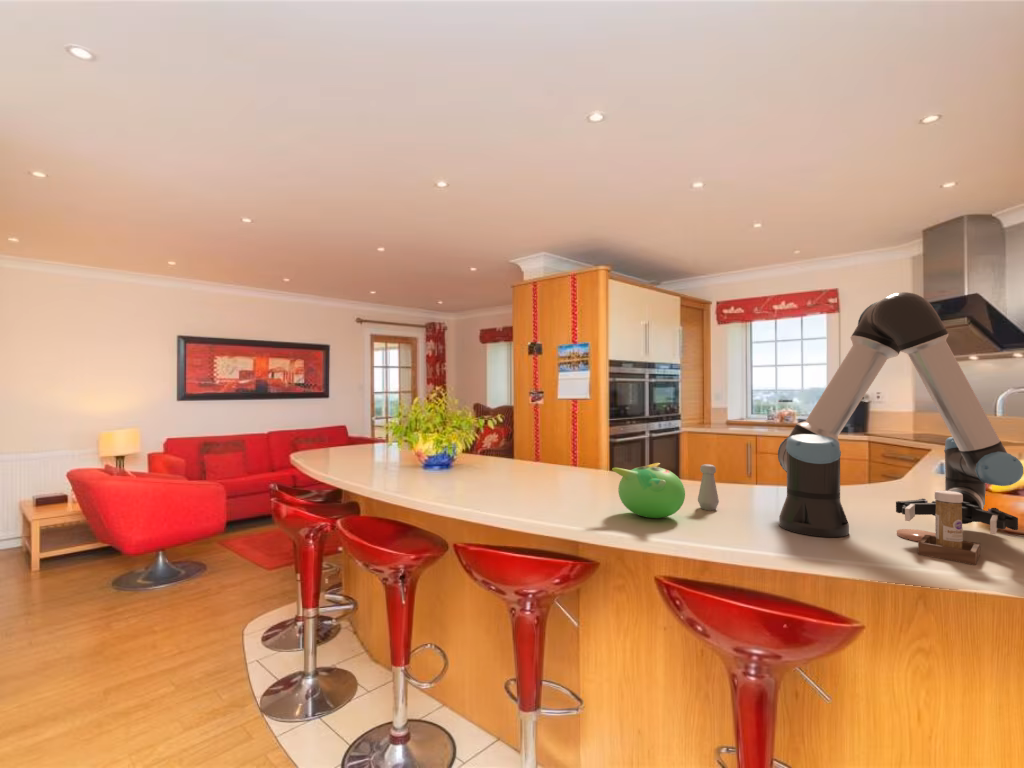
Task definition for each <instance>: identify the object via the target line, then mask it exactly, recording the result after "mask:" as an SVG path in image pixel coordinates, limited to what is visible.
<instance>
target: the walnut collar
mask: <svg viewBox="0 0 1024 768" xmlns="http://www.w3.org/2000/svg"><path fill="white" fill-rule="evenodd" d="M917 544H918V545H917V546H918V547H917V548H918V549H917V550H918V551H917V553H918V555H919V556H920V555H921V556H926V557H932V558H935V559H940V560H946V561H950V562H957V563H962V564H963V563H964V564H967V565H968V564H969V565H973V566H976V564H977V563H978V561H979V558H980V556H981V543H980V542H979V543H978V542H973V541H967V540H963V541H962V549H957V548H951V547H946V546H940V545H936V536H931V535H925V536H924V537H923V538H922V539H921V540H920V541H919V542H918V541H917Z"/></svg>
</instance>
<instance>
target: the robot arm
mask: <svg viewBox="0 0 1024 768" xmlns="http://www.w3.org/2000/svg"><path fill="white" fill-rule="evenodd" d="M949 336H950V334H949V332H948V330H947V328H946V327H945V325H944V323H943V321H942V320H941V317H940V315H939V314H938V312H937V311H936V310H935V308H934V307H933V305H932V304H931V303H930V301H928V300H927V299H925V298H924V297H923V296H921V295H919V294H916V293H913V292H905V291H904V292H895V293H893V294H890V295H888V296H885V297H884V298H882V299H880V300H878V301H876V302H874V303H872V304H870V305H869V306H867V307H866V308H865V309H864V310H863V311H862V313H861V314H860V315H859V318H858V322H857V326H856V328H855V329H854V331H853V332H852V334H851V336H850V340H851V342H852V346H851V347H850V350H849V351H848V353H847V354H846V356H845V357H844V359H843V360H842V362H841V363H840V365H839V367H838V368H837V370H836V371H835V373H834V375H833V376H832V378H831V379H830V381H829V382H828V384H827V386H826V388H825V389H824V391H823V392H822V394H821V396H820V397H819V399H818V400H817V402H816V404H815V405H814V406H813V409H812V410H811V412H810V413H809V415H808V416H807V418H806V420H804V421H801V422H798V423H796V424H795V426H794V427H793V429H792V431H791V432H790V434H789V436H788V437H786V438H785V439H784V440H783V441H781V443H780V444H779V446H778V450H777V458H778V462H779V465H780V467H781V468H782V470H784V471H785V472H786V497H785V500H784V503H783V506H782V509H781V511H780V514H779V517H778V518H779V520H778V523H779V527H780V528H782V529H784V530H787V531H789V532H793V533H797V534H801V535H807V536H813V537H825V538H841V537H846V536H848V535H849V534H850V524H849V522H848V518H847V515H846V513H845V511H844V508H843V505H842V502H841V456H842V451H841V443H840V440H839V435H840V434H841V433H842V431H843V430H844V428H845V427H846V424H847V423H848V421H850V418H851V416H852V415H853V414H854V412H855V411H856V409H857V407H858V406H859V404H860V403H861V401H862V400H863V398H864V396H865V395H866V394H867V392H868V391H869V388H870V387H871V386H872V384H873V382H874V381H875V379H876V378H877V376H878V375H879V373H880V371H881V370H882V368H883V367H884V366H885V364H886V362H887V361H888V360H889V359H891V358H895V357H898V356H899V354H900V353H904V354H907V355H908V357H909V358H910V361H911V362H912V364H913V366H914V368H915V369H916V372H917V373H918V376H919V378H920V379H921V381H922V383H923V385H924V387H925V388H926V390H927V393H928V394H929V397H930V398H931V400H932V401H933V404H934V405H935V408H937V409H936V410H937V411H938V413H939V414H940V417H941V418H942V420H943V422H944V424H945V426H946V428H947V429H948V432H949V433H950V435H951V436H950V437H947V438H946V439H945V441H944V442H945V444H944V446H945V447H944V450H943V451H944V452H943V453H944V463H945V464H944V466H945V467H944V469H945V470H944V471H945V473H944V474H945V478H944V479H945V480H944V483H945V484H944V485H945V486H944V489H945V490H944V491H953V492H959V493H961V494H963V502H962V525H967V524H971V523H983V524H985V525H989V527H990V528H989V529H990V530H989V534H991V535H996V534H997V531H998V530H999V529H1000V530H1006V529H1007V528H1008V529H1009V530H1012V531H1017V530H1019V518H1018V517H1017V516H1015V515H1011V514H1010V513H1007V512H1004V511H1002V510H999V508H997V507H991V508H987V510H984V509H985V508H984V505H985V494H986V485H993V486H999V487H1007V486H1008V487H1009V486H1011V485H1014V484H1016V483H1017V482H1019V481H1020V480H1021V479H1022V478H1023V475H1024V466H1023V463H1022V461H1020V459H1019V458H1017V457H1016V456H1014V455H1012V454H1011V453H1009V452H1008V451H1007V450H1006V448H1005V446H1004V444H1003V443H1002V442H1001V440H1000V438H999V436H998V434H997V432H996V431H995V429H994V427H993V425H992V423H991V420H990V419H989V418H988V416H987V414H986V412H985V410H984V408H983V407H982V404H981V403H980V401H979V399H978V397H977V395H976V393H975V392H974V390H973V388H972V387H971V384H970V383H969V381H968V379H967V377H966V375H965V373H964V371H963V370H962V368H961V365H960V364H959V363H958V360H957V358H956V356H955V355H954V353H953V351H952V348H951V347H950V346H949V344H948V341H947V339H948V337H949ZM983 508H984V509H983ZM895 512H896V513H897V514H902V515H903V516H904V520H905V521H906V522H910V521H911V520H912V519H914V518H915V516H919V515H922V516H925V515H930V516H933V517H935V514H936V502H935V500H932V502H928V500H927V499H926V498H919V499H913V500H912V499H911V500H909V499H908V500H900V501H899V500H896V501H895Z"/></svg>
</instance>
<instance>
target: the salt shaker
mask: <svg viewBox="0 0 1024 768" xmlns="http://www.w3.org/2000/svg"><path fill="white" fill-rule="evenodd" d="M699 470H700V471H699V472H701V473H702V475H701V481H700V485H699V490H698V491H699V492H698V497H697V502H698V504H699V506H700V509H701V510H705V511H715V510H717V507H718V505H719V502H720V500H719V499H720V498H719V494H718V491H717V484H716V478H715V473H716V472H717V468H716V466H715V465H713V464H709V463H706V464H701V465H700V468H699Z"/></svg>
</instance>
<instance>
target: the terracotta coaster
mask: <svg viewBox="0 0 1024 768" xmlns="http://www.w3.org/2000/svg"><path fill="white" fill-rule="evenodd" d="M896 535H897V536H898V537H899V536H900V538H902V539H904V538H905V540H908V539H909V541H912V540H913V542H917V543H918V542H919V541H920V540H921V539H922V538H923V537H924V536H925V535H931V536H936V532H932V531H927V530H922V529H911V528H902V529H901V528H900V529H897V530H896Z"/></svg>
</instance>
